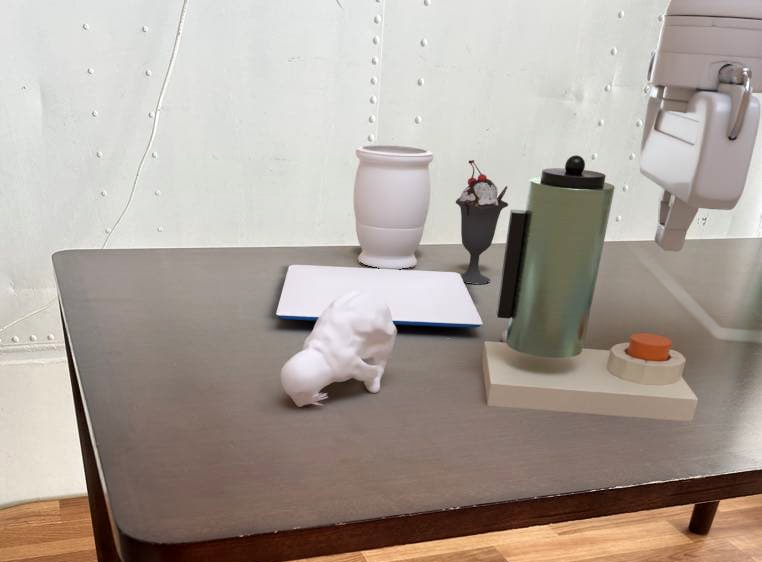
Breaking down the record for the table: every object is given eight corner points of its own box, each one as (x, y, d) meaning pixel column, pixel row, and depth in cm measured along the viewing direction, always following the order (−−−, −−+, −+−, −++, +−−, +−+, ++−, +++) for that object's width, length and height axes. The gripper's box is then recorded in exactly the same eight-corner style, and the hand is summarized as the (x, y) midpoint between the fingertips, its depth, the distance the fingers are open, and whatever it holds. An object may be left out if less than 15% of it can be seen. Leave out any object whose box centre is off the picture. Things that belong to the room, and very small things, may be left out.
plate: (481, 341, 89) (483, 322, 88) (275, 331, 88) (275, 312, 87) (458, 287, 108) (460, 271, 107) (289, 279, 107) (289, 263, 106)
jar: (434, 262, 120) (444, 150, 112) (408, 276, 112) (417, 156, 104) (368, 252, 124) (374, 142, 116) (338, 265, 115) (342, 148, 108)
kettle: (573, 329, 81) (607, 150, 72) (587, 361, 72) (627, 163, 64) (490, 323, 81) (514, 144, 73) (495, 354, 73) (523, 156, 64)
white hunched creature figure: (404, 291, 71) (312, 333, 64) (402, 382, 76) (317, 430, 69) (348, 277, 74) (255, 315, 67) (350, 365, 79) (263, 409, 72)
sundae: (437, 277, 112) (449, 158, 104) (470, 271, 116) (484, 156, 108) (472, 288, 108) (487, 165, 100) (506, 282, 112) (523, 162, 104)
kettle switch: (662, 353, 77) (666, 334, 76) (671, 365, 74) (676, 346, 73) (623, 350, 77) (627, 331, 76) (630, 362, 74) (635, 343, 73)
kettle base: (660, 375, 82) (670, 336, 80) (691, 422, 72) (704, 379, 70) (481, 362, 83) (487, 323, 81) (487, 406, 73) (493, 363, 71)
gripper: (802, 70, 55) (740, 279, 62) (717, 64, 72) (676, 228, 79) (707, 63, 55) (656, 273, 62) (645, 59, 73) (611, 223, 80)
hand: (667, 247), depth 71 cm, fingers closed
